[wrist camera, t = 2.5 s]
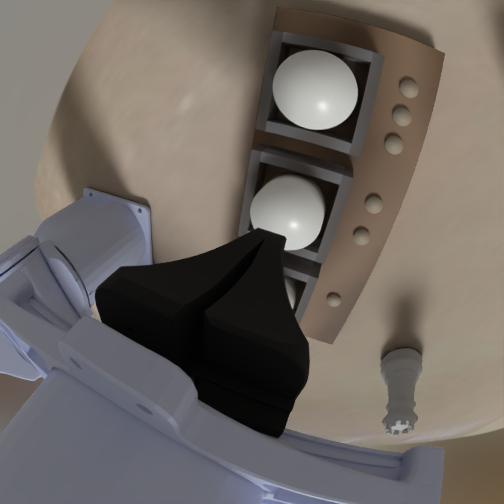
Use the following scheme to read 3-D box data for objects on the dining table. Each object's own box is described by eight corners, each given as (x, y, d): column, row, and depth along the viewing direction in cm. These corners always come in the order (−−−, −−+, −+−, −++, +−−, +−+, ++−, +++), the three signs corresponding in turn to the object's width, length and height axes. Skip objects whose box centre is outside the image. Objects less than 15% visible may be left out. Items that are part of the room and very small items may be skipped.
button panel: (233, 297, 27) (218, 322, 24) (283, 13, 13) (267, -3, 10) (334, 332, 25) (328, 361, 22) (438, 56, 11) (455, 49, 8)
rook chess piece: (414, 339, 22) (417, 414, 16) (427, 364, 23) (429, 432, 17) (373, 354, 25) (366, 426, 18) (389, 376, 26) (384, 442, 19)
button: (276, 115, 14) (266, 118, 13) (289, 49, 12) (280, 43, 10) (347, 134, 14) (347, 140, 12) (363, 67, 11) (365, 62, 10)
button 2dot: (256, 223, 18) (245, 237, 17) (267, 164, 16) (256, 174, 14) (315, 242, 18) (310, 259, 16) (333, 184, 15) (331, 195, 14)
